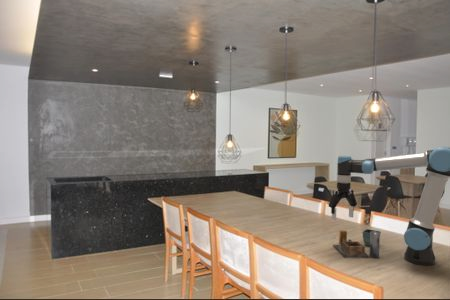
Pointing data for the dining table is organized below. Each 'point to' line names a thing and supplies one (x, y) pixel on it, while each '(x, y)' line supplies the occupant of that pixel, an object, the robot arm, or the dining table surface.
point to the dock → (351, 249)
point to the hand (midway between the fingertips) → (342, 218)
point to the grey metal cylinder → (374, 244)
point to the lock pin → (343, 236)
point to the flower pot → (367, 236)
